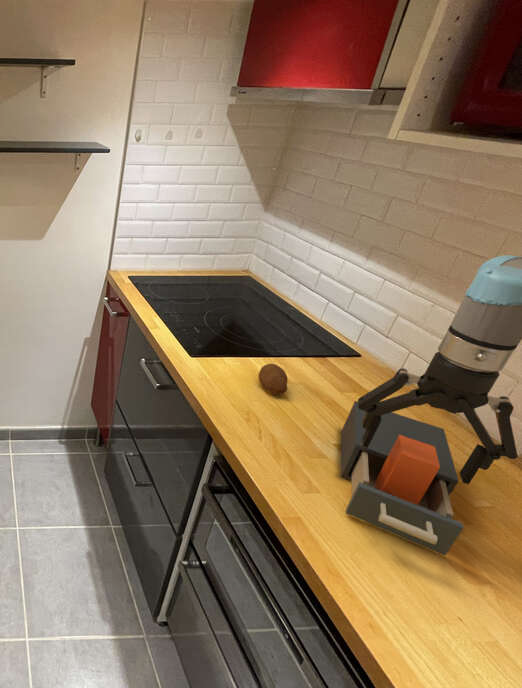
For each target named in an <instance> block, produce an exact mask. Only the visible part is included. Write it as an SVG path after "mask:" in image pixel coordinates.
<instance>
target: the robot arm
mask: <svg viewBox="0 0 522 688" xmlns="http://www.w3.org/2000/svg"><path fill="white" fill-rule="evenodd" d="M464 294H465V295H464V297H463V299H462V301H461V303H460V305H459V307H458V309H457V311H456V313H455V315H454V316H453V319H452V321H451V323H450V325H449V327H448V329H447V330H446V332H445V334H444V335H443V337H442V339H441V341H440V343H439V345H438V347H437V350H438V351H437V352H435V353H434V355H433V356H432V359H431V361H430V362H429V365H428V366H427V369H426V370H425V372H424V373H423V374H422V375H420V376H419V375H416V374H413V373H410V372H408V370H407V369H406V368H398V370H397V371H396V373H395V374H394V376H393V377H391V378H390V379H388V380H386V381H385V382H383V383H381V384H380V385H378V386H377V387H375V388H374V389H372V390H370V391H368V392H367V393H366V394H363V395H362V396H360V397H359V398H358V399H357V402H358V408H359V409H360V410H364V411H366V412H367V413H366V415H365V417H364V419H363V421H362V426H363V428H364V429H366V431H365V433H364V435H363V437H362V444H363V446H364V447H366V448H368V446H369V444H370V442H371V440H372V438H373V436H374V434H375V432H376V430H377V428H378V426H379V424H380V422H381V415H384V414H387V413H391V412H392V413H395V412H397V411H400V410H404V409H407V408H410V407H414V406H417V407H419V406H423V405H426V404H427V405H429V406H430V407H431V408H434V409H439V410H444V411H446V412H448V413H451V414H454V415H456V414H463V415H464V417H465V418H466V420H467V421H468V422H469V424H470V426H471V427H472V429H473V430H474V431H473V432H475V434H476V436H477V437H478V438H479V440H480V442H481V444H479V443H477V444H476V446H475V447H474V449H473V451H472V452H471V454H470V455H469V457H468V459H467V460H466V461H465V462H464V464H463V466H462V468H461V469H460V471H459V475H460V479H461V481H462V483H463V484H466V485H468V486H469V485H470V483H471V482H472V480H473V479H474V477H475V475H476V474H477V473H478V471H479V469H480V470H483V471H486V470H488V469H490V467H491V466H492V464H493V462H494V461H498V460H500V459H501V458H502V457H506V458H507V459H510V460H516V459H517V458H518V451H517V446H516V442H515V436H514V432H513V427H512V426H513V425H512V421H511V417H512V414H513V411H514V409H515V408H514V405H513V403H512V402H511V400H510V398H509V397H508V396H503V395H502V396H499V397H496V396H490V395H489V393H490V392H491V390H492V389H493V386H494V385H495V383H496V382H497V380H498V378H499V377H500V371H503V370H504V368H505V367H506V365H507V363H508V362H509V360H510V358H511V356H512V355H513V353H514V352H515V350H516V349H517V347H518V346H519V344H520V342H522V256H518V255H513V254H509V255H508V254H504V255H499V256H496V257H492V258H490V259H488V260H487V261H485V262H484V263H483V264H482V265H480V266H479V268H478V269H477V270H476V274H475V277H474V279H473V281H472V282H471V284H470V285H469V287H468V288H467V289H466V291H465V293H464ZM412 384H416V385H417V387H416V388H413V389H411V390H410V391H408V392H407V393H403V394H400V395H397V396H394V397H393V396H392V395H393V394H395V393H397V392H399V390H401V389H403V387H404V386H405V387H409V386H411V385H412ZM389 396H392V397H390V398H388V397H389ZM486 405H488V406H489V407H490V409H491V410H492V411H493V412H494V413H495V414H494V415H495V417H496V418H495V419H496V423H497V428H498V432H499V436H500V442H501V444H500V443H499V444H497V443H495V441H494V440H493V438H492V436H491V435H490V432H488V430H487V428H486V426H485V425H484V423H483V421H482V420H481V418H480V417H479V415H478V413H477V411H476V410H475V409H478V408H481V407H483V406H486Z"/></svg>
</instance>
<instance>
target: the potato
mask: <svg viewBox="0 0 522 688" xmlns="http://www.w3.org/2000/svg"><path fill="white" fill-rule="evenodd" d="M258 380H259V382H260V384H261V386H262V387H263V389H264V390H266V391H267V392H268V393H270V394H271V395H272V394H273V395H283V394H285V393H286V392H287V390H288V376H287V374H286V371H285V369H284V368H282V367H281V366H279V365H277V364H275V363H267V364H264V365H263V366H262V367H261V368H260V370H259V372H258Z"/></svg>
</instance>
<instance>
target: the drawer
mask: <svg viewBox="0 0 522 688" xmlns="http://www.w3.org/2000/svg"><path fill="white" fill-rule="evenodd" d="M385 461H386V459H385V458H382V457H379V456H377V455H374V454H371V453H368V452H366V451H363V450H360V451H359V453H358V455H357V457H356V459H355V461H354V463H353V465H352V467H351V476H352V481H351V498H350V500H349V502H348V504H347V506H346V508H345V514H347V515H349V516H352V517H354V518H356V519H358V520H361V521H363V522H365V523H368V524H370V525H373V526H375V527H377V528H379V529H382V530H384V531H386V532H389V533H391V534H394V535H396V536H398V537H400V538H402V539H405V540H407V541H409V542H411V543H414V544H417V545H418V546H421V547H424V548H426V549H428V550H430V551H433V552H436V553H438V554H440V555H442V556H444V557H445V556H446V555H447V554H448V552H449V551H450V549H451V548H452V546H453V544H454V543H455V542H456V540H457V539H458V538H459V536H460V534H461V533H462V531H463V530H464V528H465V527H464V523H463V522H461V521H459V520H456V519H454V518H453V517H454V511H453V507H452V503H451V500H450V499H451V498H450V496H449V495H448V491H447V487H446V483H445V480H443V479H440V478H437V477H434V479H433V480H432V482H431V484H430V485H429V487H428V489H427V490H426V492H425V494H424V496H423V497H422V499H421V501H420V502H419V504H418V505H416V504H413V503H411V502H408V501H406V500H403V499H400V498H398V497H395V496H393V495H390V494H388V493H385V492H383V491H380V490H378V489H375V480H376V479H377V477H378V475H379V473H380V471H381V469H382V467H383V465H384V463H385Z"/></svg>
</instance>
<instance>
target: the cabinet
mask: <svg viewBox="0 0 522 688" xmlns="http://www.w3.org/2000/svg"><path fill="white" fill-rule="evenodd" d="M366 413H367V412H366V411H364V410H360V409H359V408H358V400H357V401H356V400H354V402H353V404H352V407H351V409H350V411H349V413H348V415H347V418H346V420H345V422H344V424H343V427H342V429H341V442H340V443H341V444H340V446H341V447H340V477H341V478H343V479H345V480H348V481H350V482H352V476H351V467H352V465H353V463H354V461H355V459H356V457H357V455H358V453H359V451H360V450H363V451H366V452H368V453H371V454H374V455H377V456H379V457H382V458H385V459H387V457H388V455H389V453H390V451H391V449H392V448H393V446H394V444H395V442H396V440H397V438H398V436H399V435H402V436H405V437H408V438H411V439H414V440H417V441H420V442H423V443H426V444H429V445H431V446H434V447H435V449H436V453H437V457H438V461H439V465H440V468H439V470H438V472H437V473H436V475H435V477H437V478H440V479H443V480H445V483H446V487H447V491H448V495H449V497H450V496H451V495H452V493H453V491H454V489H455V488H456V486H457V485H458V483H459V482H460V480H459V477H458V473H457V470H456V466H455V463H454V460H453V456H452V451H451V449H450V445H449V442H448V438H447V435H446V432H445V429H444V428H442V427H439V426H436V425H432V424H429V423H427V422H423V421H420V420H417V419H414V418H412V417H407V416H405V415H401V414H398V413H395V412H391V413H387V414H384V415H381V422H380V424H379V426H378V428H377V430H376V432H375V434H374V436H373V438H372V440H371V442H370V444H369V446H368V448H366V447H364V446H363V444H362V437H363V435H364V433H365V431H366V429H364V428H363V426H362V421H363V419H364V417H365V415H366Z"/></svg>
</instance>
